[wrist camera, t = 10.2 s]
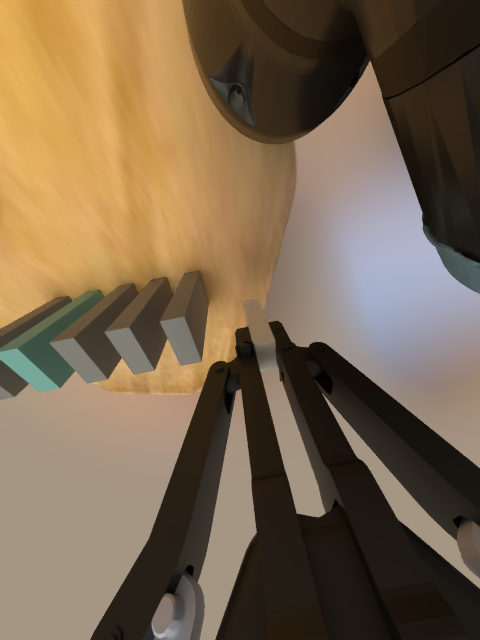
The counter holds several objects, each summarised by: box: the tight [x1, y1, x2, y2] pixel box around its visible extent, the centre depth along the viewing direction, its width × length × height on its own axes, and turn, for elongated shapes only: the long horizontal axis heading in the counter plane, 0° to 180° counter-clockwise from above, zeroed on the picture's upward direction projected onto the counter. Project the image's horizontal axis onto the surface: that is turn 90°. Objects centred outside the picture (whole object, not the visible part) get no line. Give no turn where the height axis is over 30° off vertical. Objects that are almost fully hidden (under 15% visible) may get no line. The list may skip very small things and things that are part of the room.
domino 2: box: [104, 277, 173, 374], centre depth 21 cm, size 2×5×12 cm, turn 10°
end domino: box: [0, 296, 72, 400], centre depth 21 cm, size 2×5×12 cm, turn 9°
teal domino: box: [0, 290, 105, 392], centre depth 21 cm, size 2×5×12 cm, turn 9°
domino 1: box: [49, 284, 138, 383], centre depth 21 cm, size 2×5×12 cm, turn 10°
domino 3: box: [160, 271, 209, 366], centre depth 21 cm, size 2×5×12 cm, turn 9°
